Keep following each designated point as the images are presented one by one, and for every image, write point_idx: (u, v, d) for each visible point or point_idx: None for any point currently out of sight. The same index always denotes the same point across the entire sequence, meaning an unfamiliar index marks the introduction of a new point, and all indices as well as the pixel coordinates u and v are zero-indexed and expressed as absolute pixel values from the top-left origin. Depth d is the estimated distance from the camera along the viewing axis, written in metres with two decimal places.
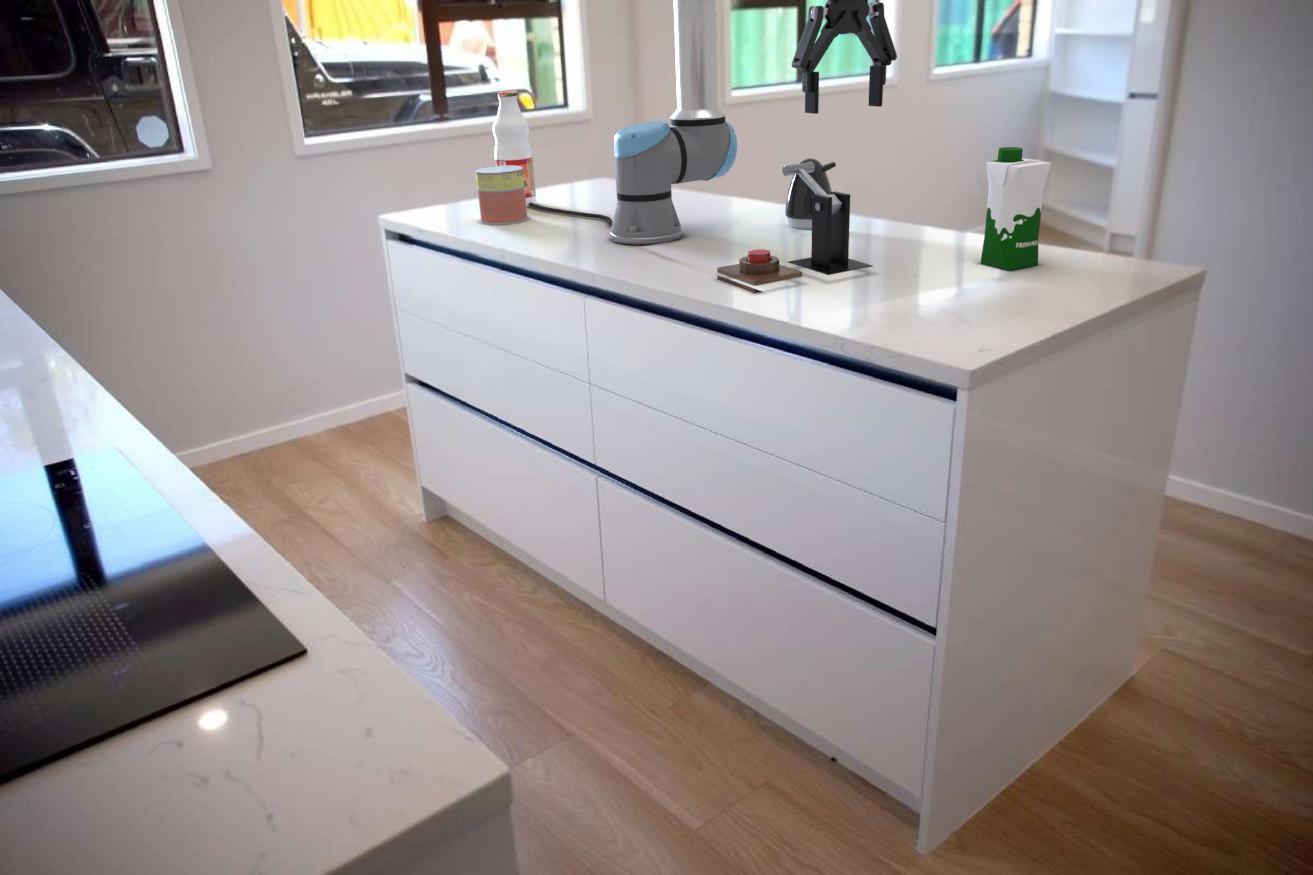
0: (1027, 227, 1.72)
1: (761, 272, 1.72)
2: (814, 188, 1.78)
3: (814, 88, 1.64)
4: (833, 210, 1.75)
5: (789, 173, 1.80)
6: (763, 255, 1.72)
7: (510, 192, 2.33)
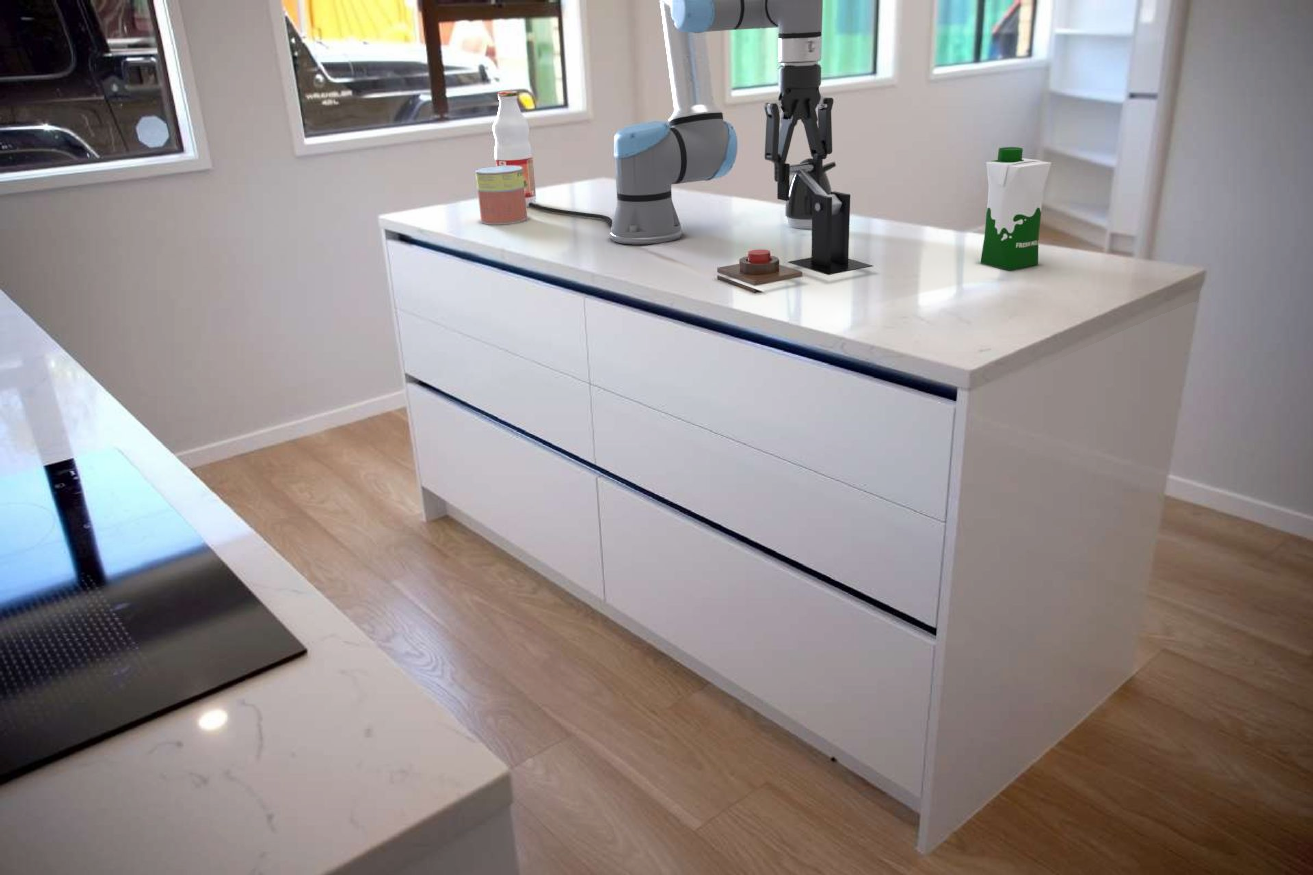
0: (1027, 227, 1.72)
1: (761, 272, 1.72)
2: (814, 188, 1.78)
3: (785, 178, 1.80)
4: (833, 210, 1.75)
5: None
6: (763, 255, 1.72)
7: (510, 192, 2.33)
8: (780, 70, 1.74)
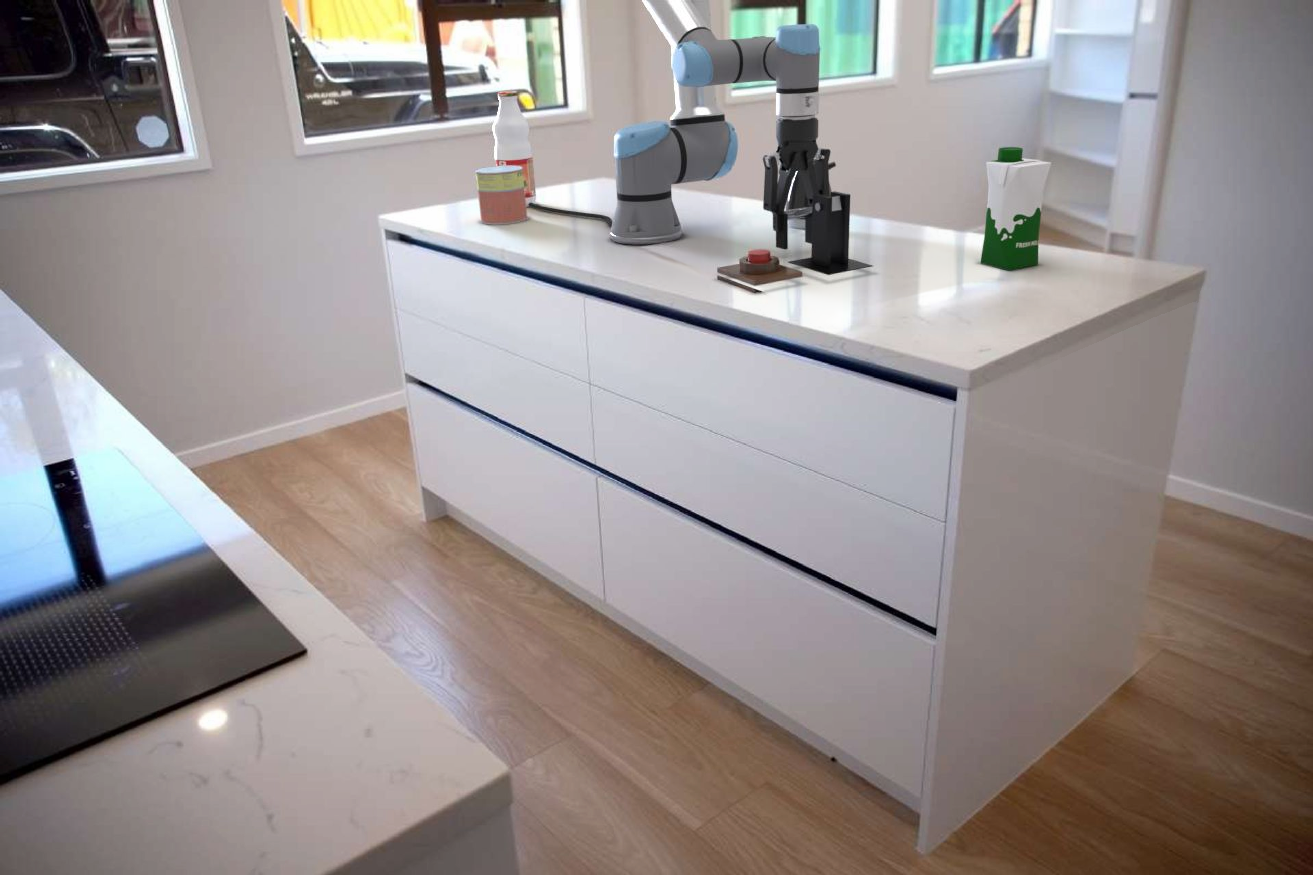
0: (1027, 227, 1.72)
1: (761, 272, 1.72)
2: None
3: (783, 228, 1.84)
4: (834, 204, 1.74)
5: None
6: (763, 255, 1.72)
7: (510, 192, 2.33)
8: (778, 123, 1.78)
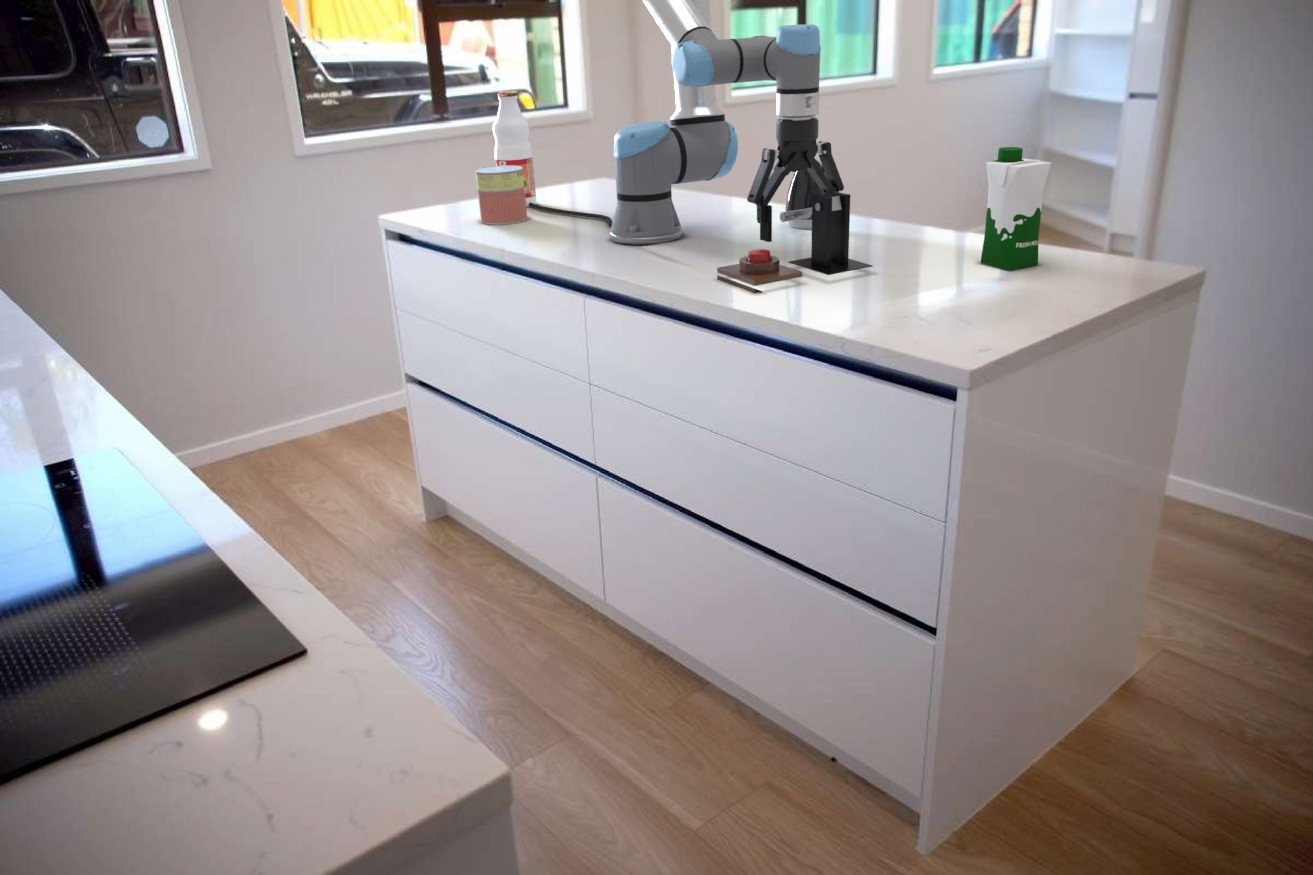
0: (1027, 227, 1.72)
1: (761, 272, 1.72)
2: None
3: (767, 220, 1.81)
4: (834, 204, 1.74)
5: (786, 216, 1.84)
6: (763, 255, 1.72)
7: (510, 192, 2.33)
8: (778, 124, 1.78)
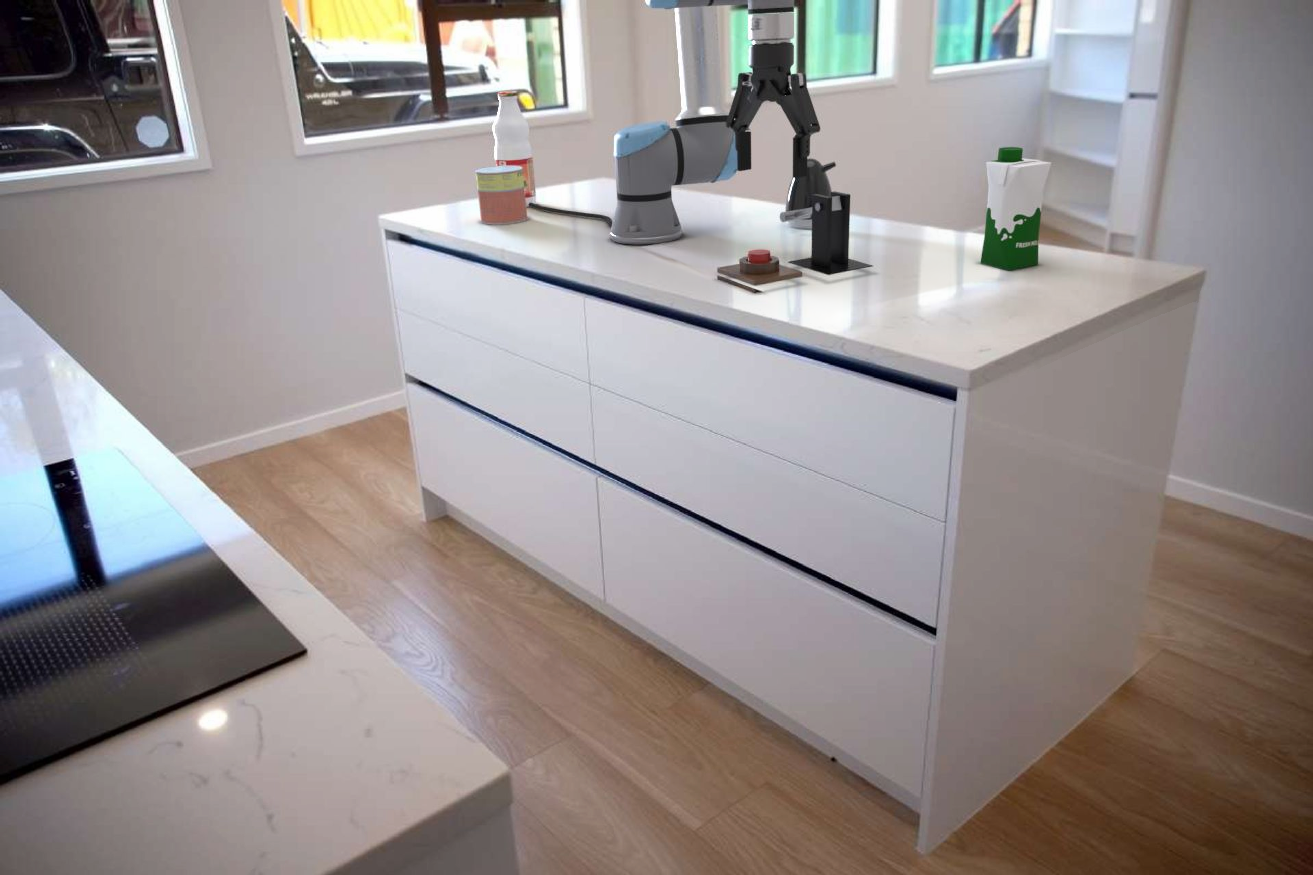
0: (1027, 227, 1.72)
1: (761, 272, 1.72)
2: None
3: None
4: (834, 204, 1.74)
5: (786, 216, 1.84)
6: (763, 255, 1.72)
7: (510, 192, 2.33)
8: None
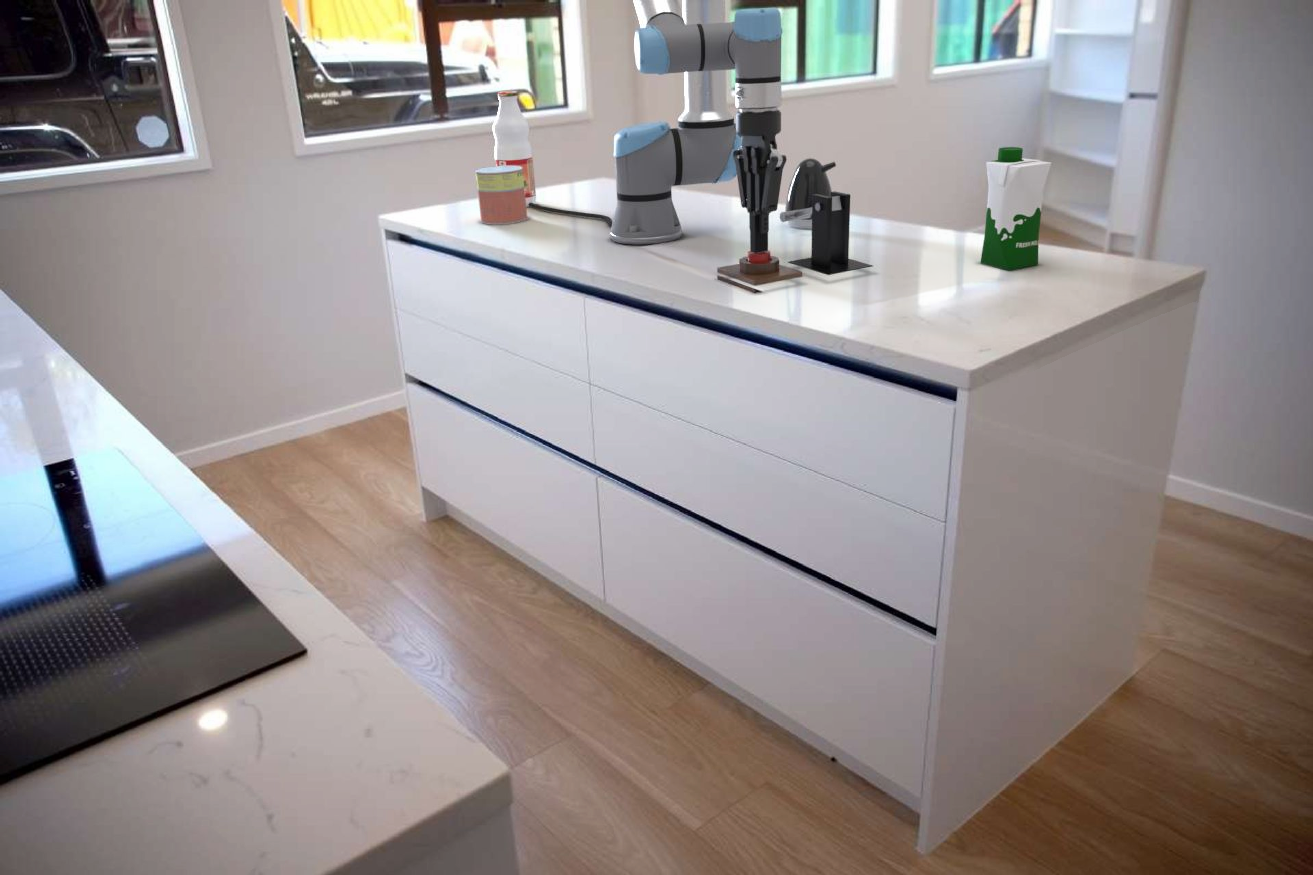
0: (1027, 227, 1.72)
1: (761, 272, 1.72)
2: None
3: None
4: (834, 204, 1.74)
5: (786, 216, 1.84)
6: (763, 255, 1.72)
7: (510, 192, 2.33)
8: None
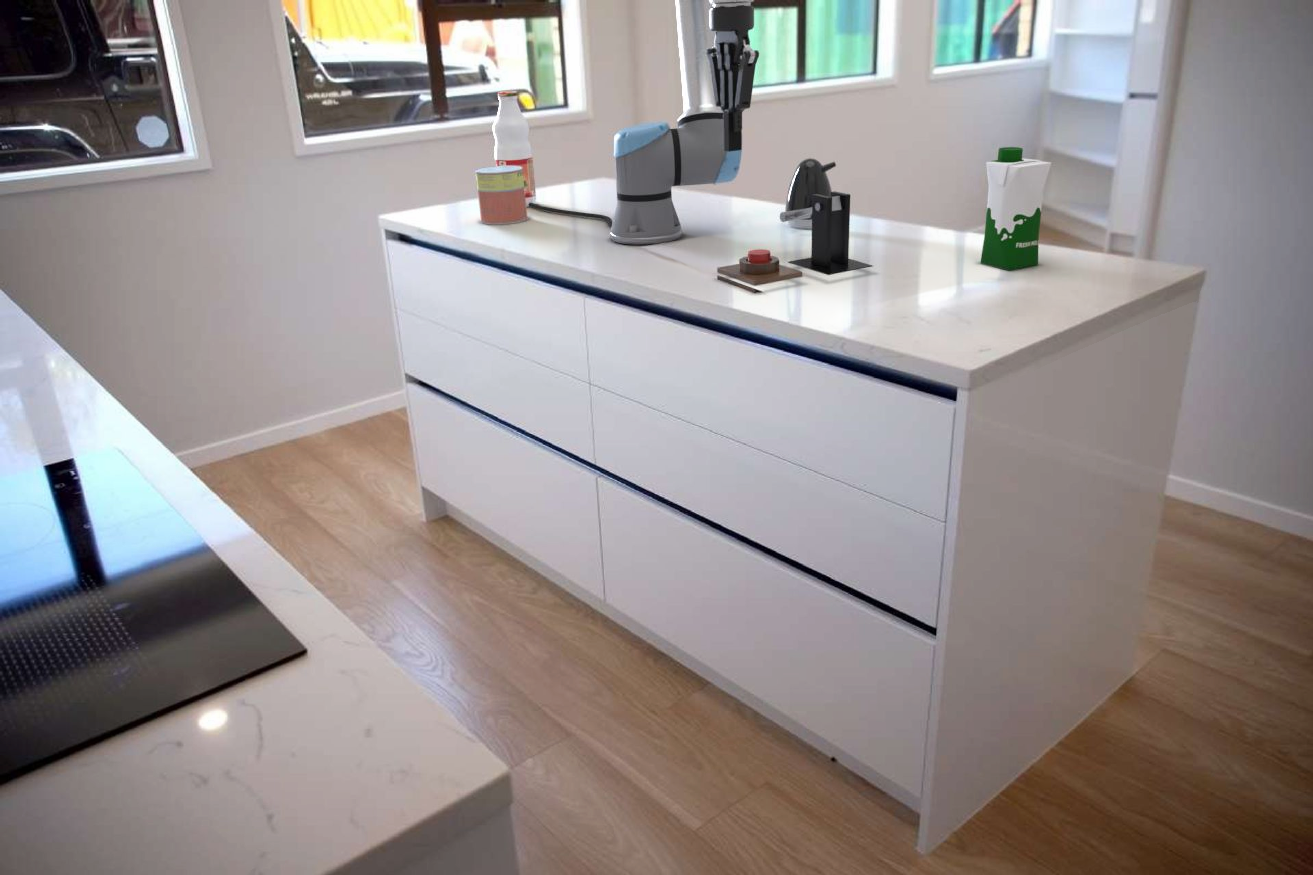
0: (1027, 227, 1.72)
1: (761, 272, 1.72)
2: None
3: (725, 127, 1.75)
4: (834, 204, 1.74)
5: (786, 216, 1.84)
6: (763, 255, 1.72)
7: (510, 192, 2.33)
8: None
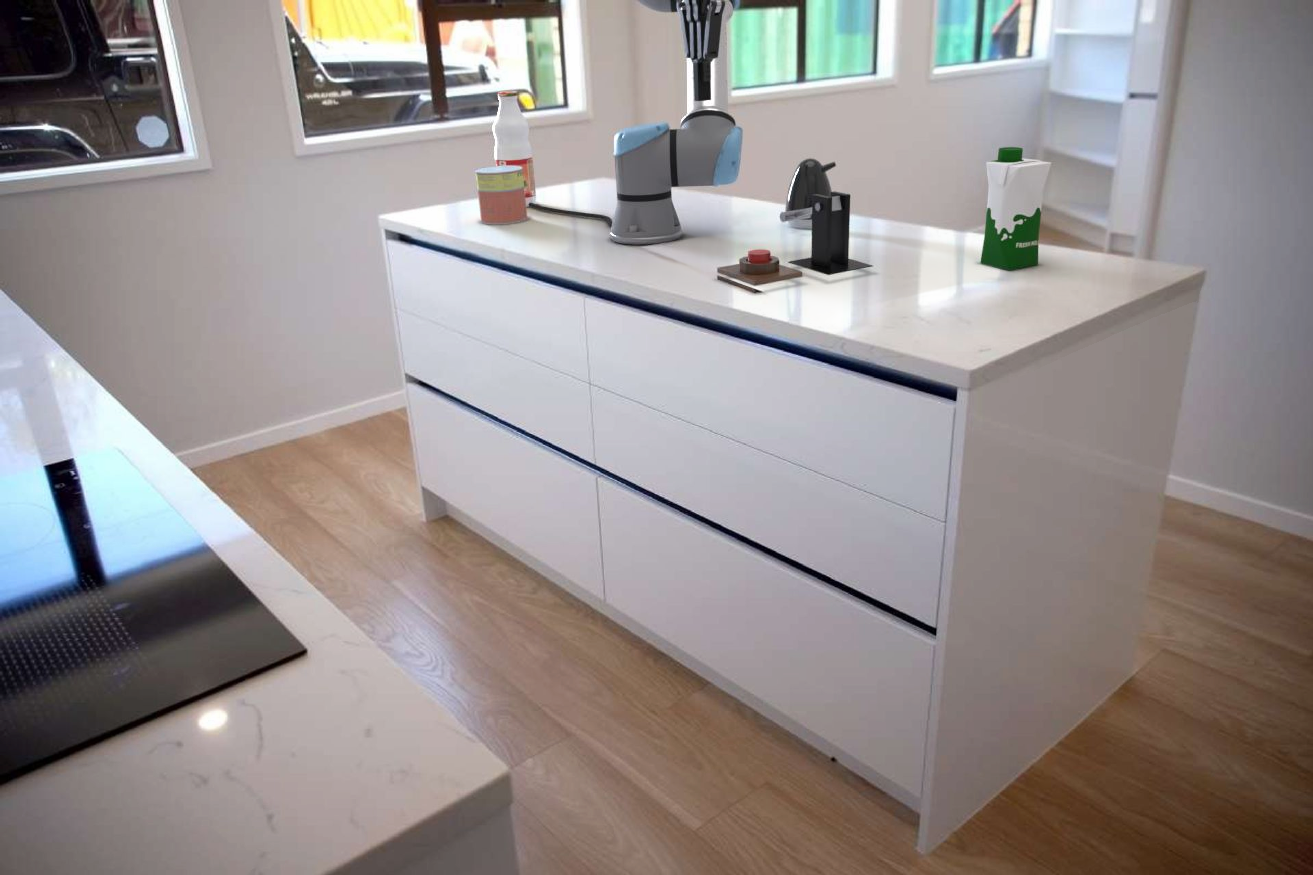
0: (1027, 227, 1.72)
1: (761, 272, 1.72)
2: None
3: None
4: (834, 204, 1.74)
5: (786, 216, 1.84)
6: (763, 255, 1.72)
7: (510, 192, 2.33)
8: None
